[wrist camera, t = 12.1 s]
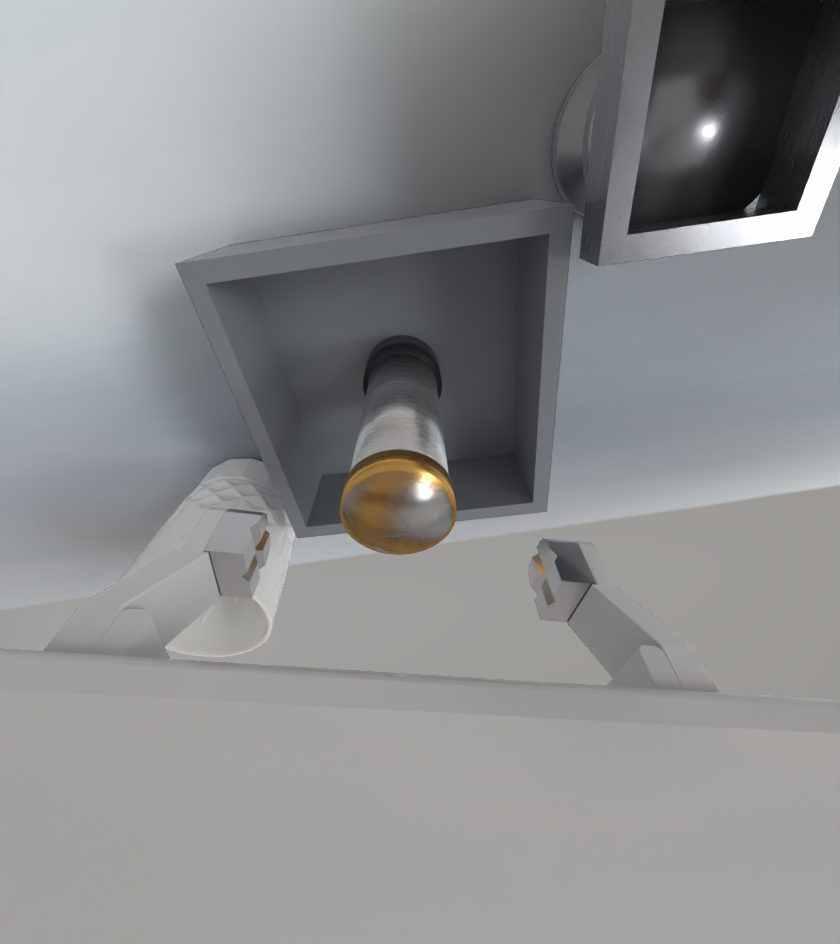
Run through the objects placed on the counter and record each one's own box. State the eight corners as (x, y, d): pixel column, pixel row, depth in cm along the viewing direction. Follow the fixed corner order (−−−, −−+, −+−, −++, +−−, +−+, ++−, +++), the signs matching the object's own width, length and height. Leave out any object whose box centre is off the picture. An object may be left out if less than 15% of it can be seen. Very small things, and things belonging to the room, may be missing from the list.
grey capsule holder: (729, 6, 15) (954, -118, 9) (680, 219, 19) (811, 236, 13) (547, 38, 15) (640, -60, 9) (538, 240, 19) (598, 266, 13)
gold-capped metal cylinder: (368, 330, 21) (333, 455, 11) (445, 340, 21) (475, 469, 12) (364, 401, 23) (332, 553, 14) (433, 409, 24) (450, 562, 14)
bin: (533, 199, 18) (574, 203, 14) (523, 456, 27) (546, 511, 22) (230, 244, 19) (175, 263, 15) (315, 480, 28) (297, 538, 23)
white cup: (173, 463, 27) (71, 585, 19) (280, 437, 26) (220, 554, 18) (234, 541, 31) (173, 666, 23) (327, 522, 30) (296, 645, 22)
